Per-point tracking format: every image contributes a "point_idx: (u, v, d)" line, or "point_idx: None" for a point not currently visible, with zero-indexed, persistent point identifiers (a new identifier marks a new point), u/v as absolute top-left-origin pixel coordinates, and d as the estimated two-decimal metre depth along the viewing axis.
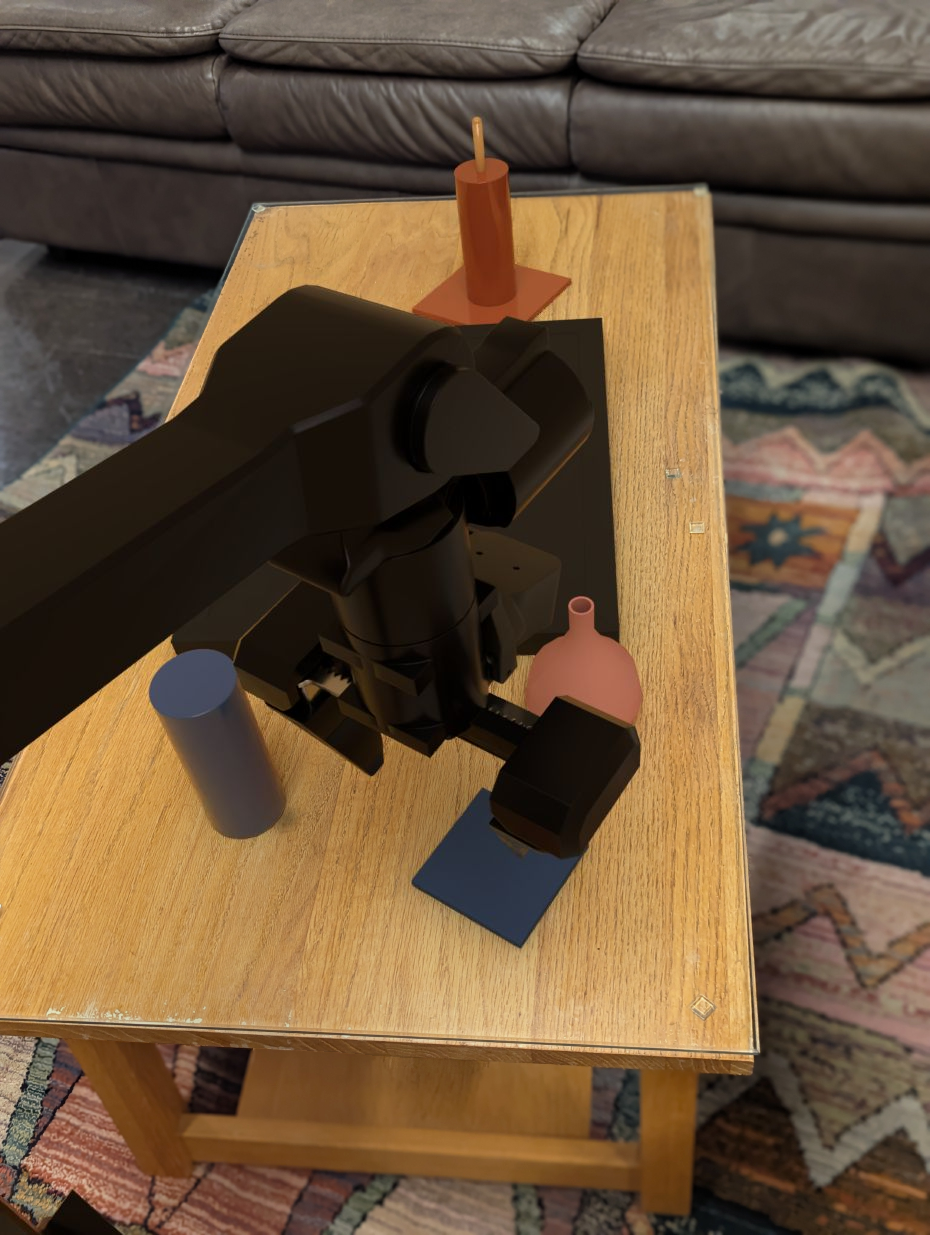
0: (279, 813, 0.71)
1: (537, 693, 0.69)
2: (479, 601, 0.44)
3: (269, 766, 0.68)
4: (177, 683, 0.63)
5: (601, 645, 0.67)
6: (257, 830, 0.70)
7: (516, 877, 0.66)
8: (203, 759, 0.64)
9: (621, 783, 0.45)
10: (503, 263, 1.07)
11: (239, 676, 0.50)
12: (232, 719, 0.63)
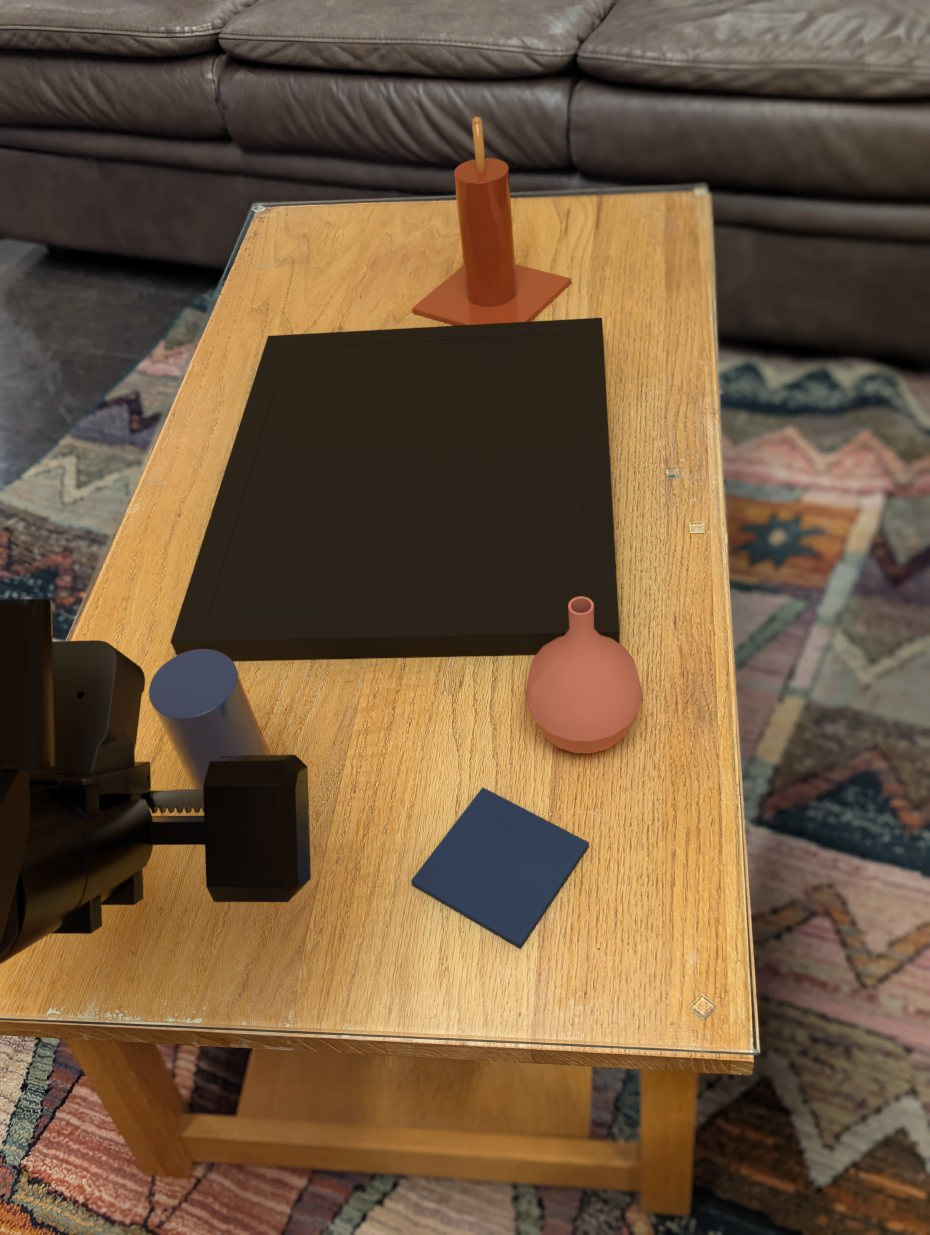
0: None
1: (537, 693, 0.69)
2: (83, 813, 0.42)
3: None
4: (177, 683, 0.63)
5: (600, 645, 0.67)
6: None
7: (516, 877, 0.66)
8: (203, 759, 0.64)
9: (304, 806, 0.48)
10: (503, 263, 1.07)
11: None
12: (232, 719, 0.63)
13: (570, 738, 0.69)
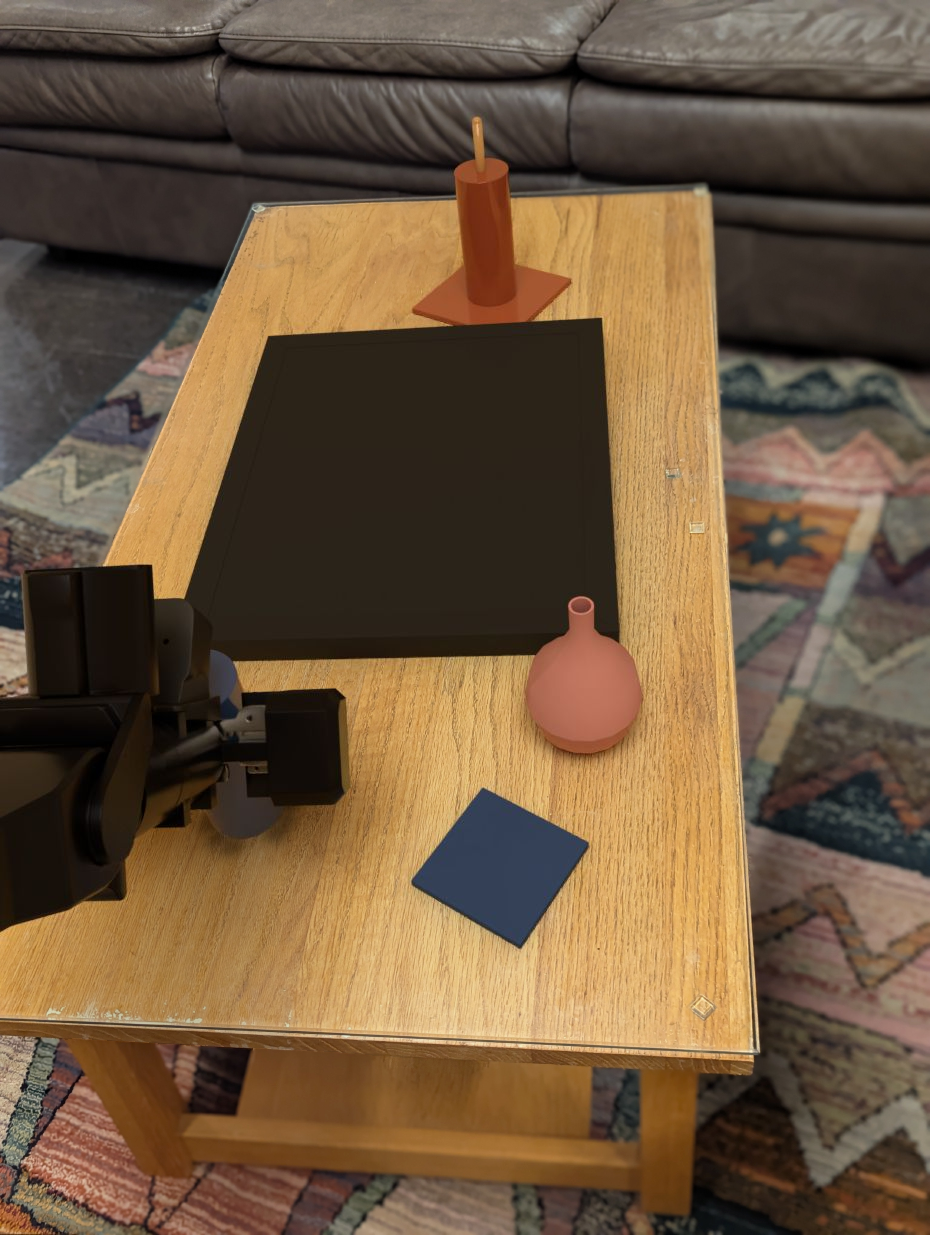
0: (279, 813, 0.71)
1: (537, 693, 0.69)
2: (176, 733, 0.53)
3: None
4: None
5: (600, 645, 0.67)
6: (257, 830, 0.70)
7: (516, 877, 0.66)
8: None
9: (344, 729, 0.59)
10: (503, 263, 1.07)
11: None
12: None
13: (570, 738, 0.69)
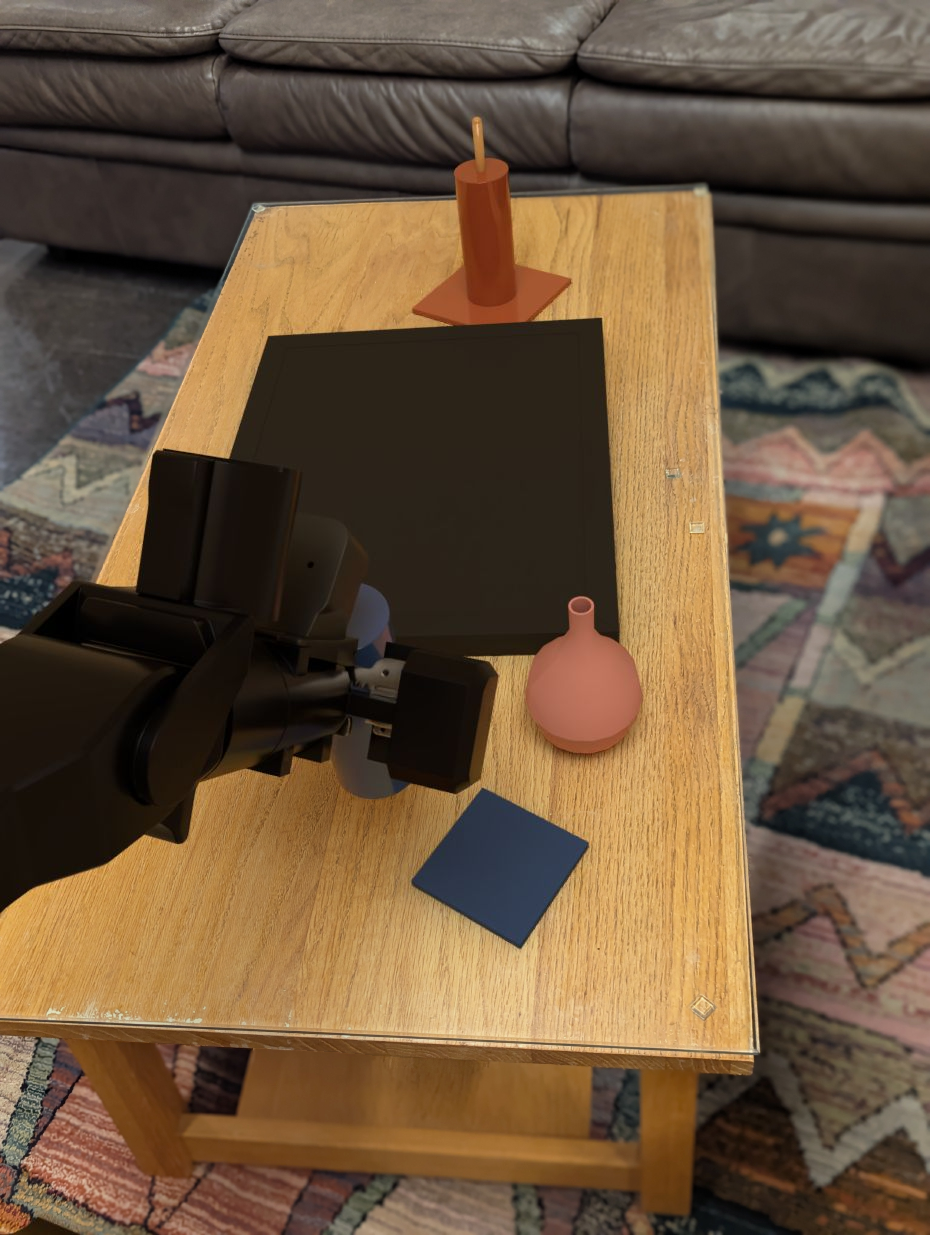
0: None
1: (537, 693, 0.69)
2: (293, 670, 0.46)
3: None
4: None
5: (601, 645, 0.67)
6: (380, 794, 0.63)
7: (516, 877, 0.66)
8: None
9: (488, 711, 0.50)
10: (503, 263, 1.07)
11: None
12: None
13: (570, 738, 0.69)
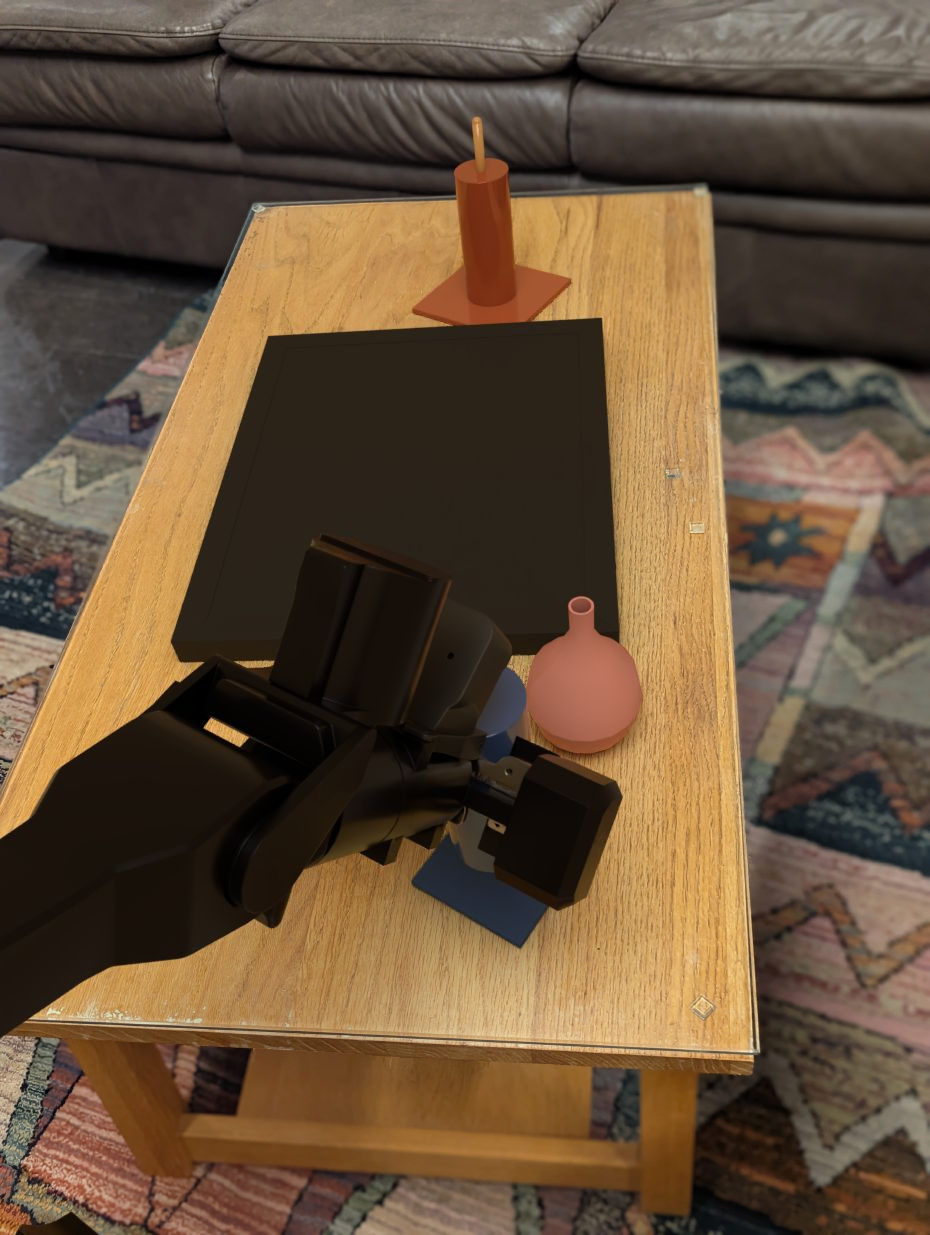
0: None
1: (537, 693, 0.69)
2: (414, 764, 0.46)
3: None
4: None
5: (600, 645, 0.67)
6: (490, 868, 0.62)
7: None
8: None
9: (605, 832, 0.49)
10: (503, 263, 1.07)
11: None
12: (499, 755, 0.54)
13: (570, 738, 0.69)
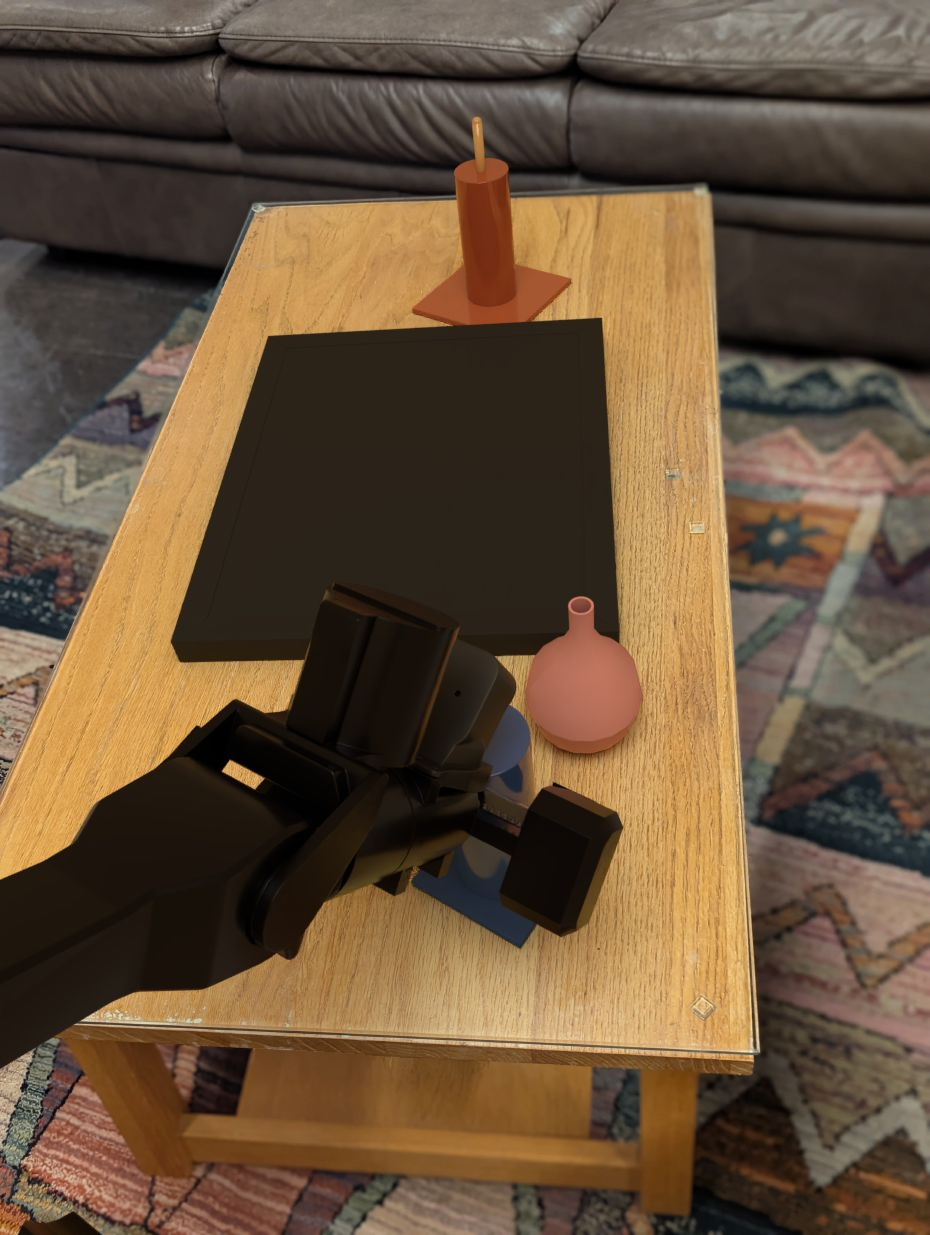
0: None
1: (537, 693, 0.69)
2: (423, 800, 0.48)
3: None
4: None
5: (600, 645, 0.67)
6: (495, 895, 0.64)
7: None
8: None
9: (606, 862, 0.51)
10: (503, 263, 1.07)
11: None
12: (504, 791, 0.57)
13: (570, 738, 0.69)
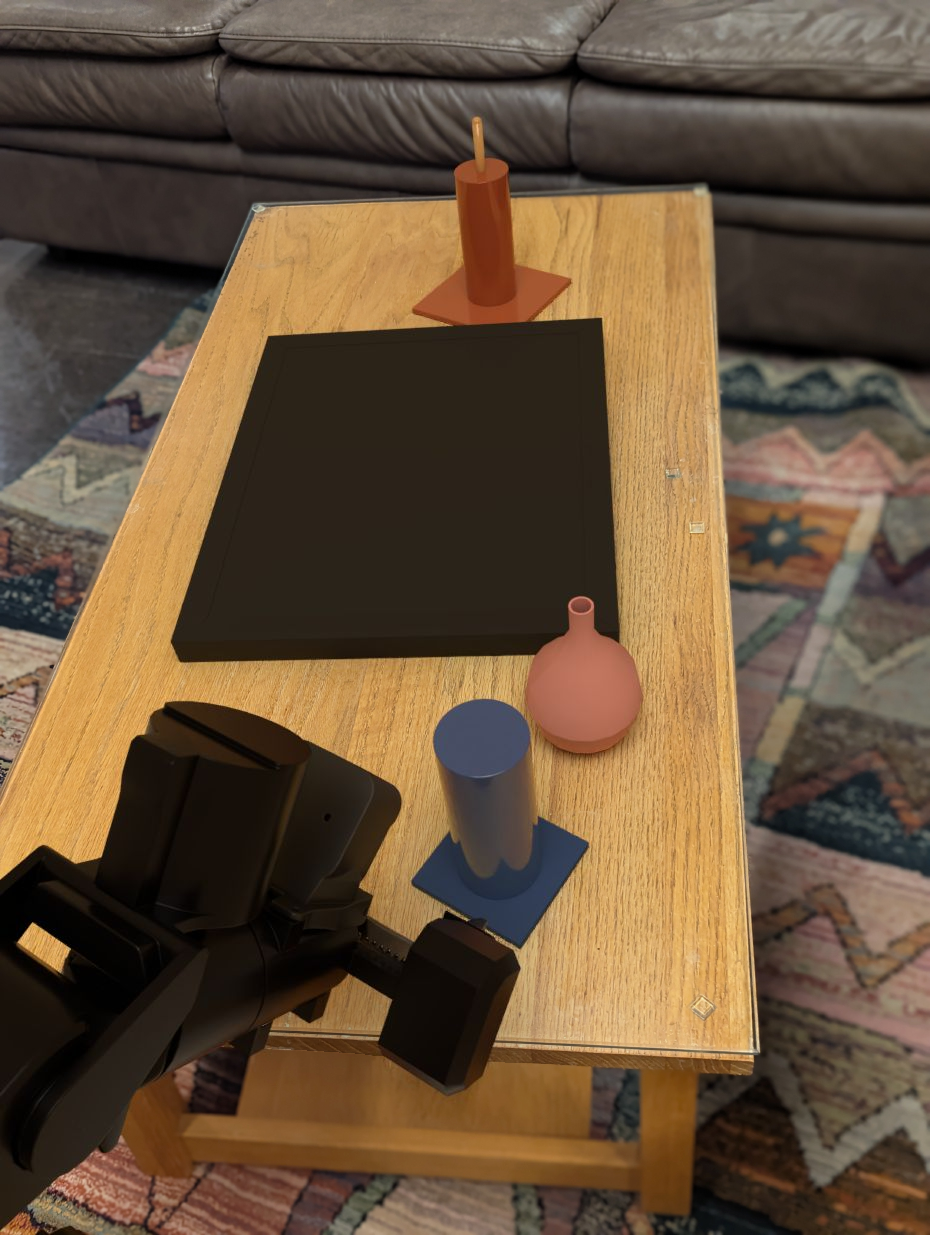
0: (524, 888, 0.65)
1: (537, 693, 0.69)
2: (280, 947, 0.41)
3: (530, 842, 0.62)
4: (466, 730, 0.57)
5: (600, 645, 0.67)
6: (495, 895, 0.64)
7: None
8: (463, 814, 0.59)
9: (500, 1009, 0.44)
10: (503, 263, 1.07)
11: None
12: (504, 791, 0.57)
13: (570, 738, 0.69)
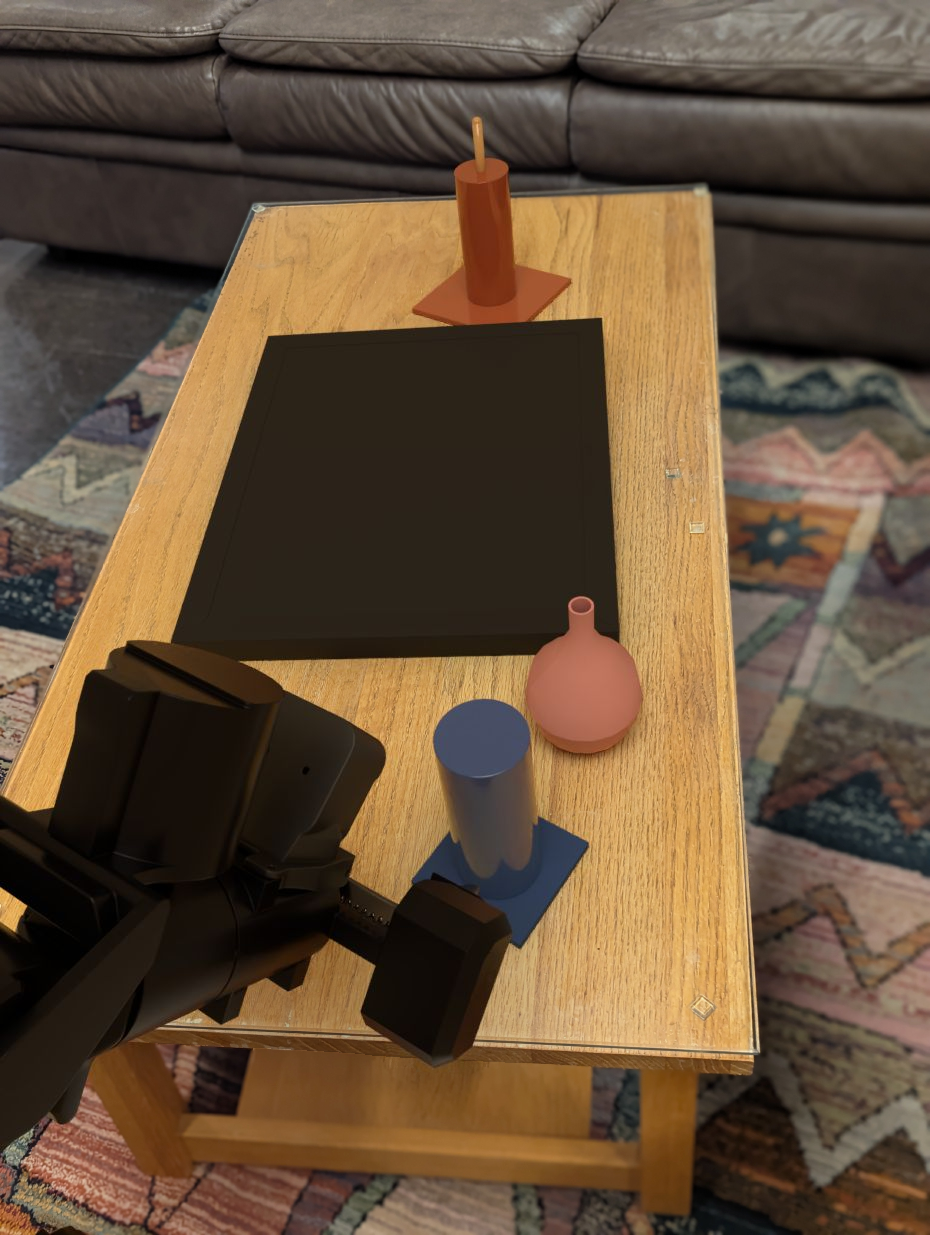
0: (524, 888, 0.65)
1: (537, 693, 0.69)
2: (254, 907, 0.39)
3: (530, 842, 0.62)
4: (466, 730, 0.57)
5: (600, 645, 0.67)
6: (495, 895, 0.64)
7: None
8: (463, 814, 0.59)
9: (490, 975, 0.41)
10: (503, 263, 1.07)
11: None
12: (504, 791, 0.57)
13: (570, 738, 0.69)
